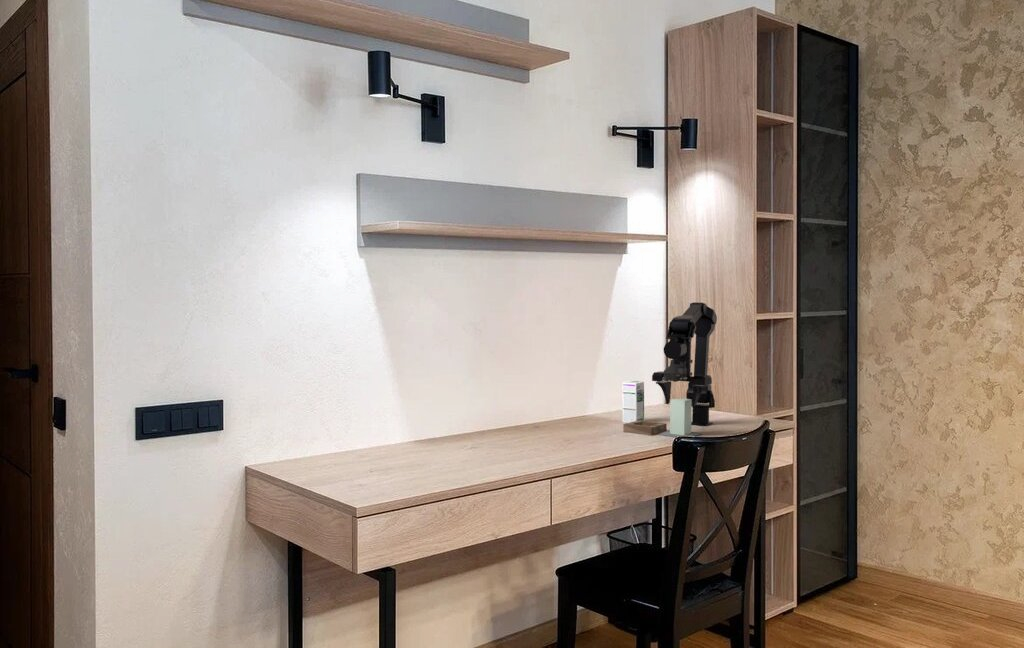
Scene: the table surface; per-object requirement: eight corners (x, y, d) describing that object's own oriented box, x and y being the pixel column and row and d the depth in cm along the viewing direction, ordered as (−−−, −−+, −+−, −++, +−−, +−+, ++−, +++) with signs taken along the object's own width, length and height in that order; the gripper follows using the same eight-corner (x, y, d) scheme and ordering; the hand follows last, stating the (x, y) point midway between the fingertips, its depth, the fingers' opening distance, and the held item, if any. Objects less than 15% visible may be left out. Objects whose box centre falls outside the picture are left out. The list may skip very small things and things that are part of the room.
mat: (673, 430, 283) (673, 429, 283) (701, 434, 277) (701, 432, 277) (659, 435, 275) (659, 433, 275) (687, 438, 269) (687, 437, 269)
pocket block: (639, 427, 289) (639, 420, 289) (666, 431, 283) (666, 423, 283) (623, 431, 281) (623, 424, 281) (651, 435, 274) (651, 427, 274)
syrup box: (636, 424, 295) (637, 382, 295) (621, 422, 299) (622, 381, 298) (644, 422, 300) (644, 381, 299) (629, 420, 303) (630, 380, 303)
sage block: (677, 431, 279) (677, 398, 279) (691, 432, 276) (691, 399, 276) (670, 433, 276) (670, 399, 275) (684, 435, 272) (684, 401, 272)
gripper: (644, 356, 274) (643, 404, 275) (697, 360, 263) (696, 410, 263) (660, 354, 283) (659, 401, 284) (712, 357, 271) (711, 406, 272)
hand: (681, 404), depth 275 cm, fingers open, 9 cm apart
